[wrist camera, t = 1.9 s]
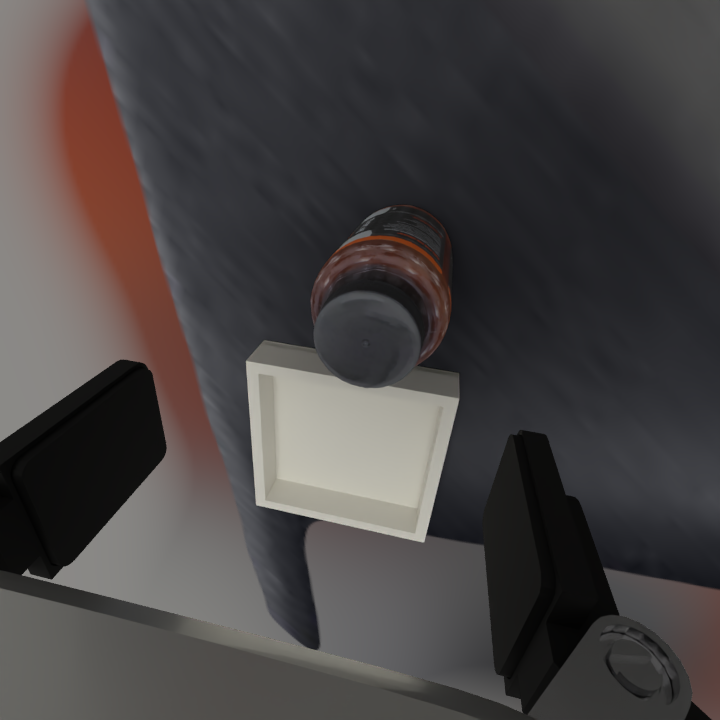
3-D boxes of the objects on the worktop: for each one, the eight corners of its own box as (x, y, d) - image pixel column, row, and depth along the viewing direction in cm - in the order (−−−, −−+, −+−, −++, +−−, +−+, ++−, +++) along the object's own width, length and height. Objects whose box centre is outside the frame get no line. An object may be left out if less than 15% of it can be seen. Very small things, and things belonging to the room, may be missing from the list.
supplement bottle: (350, 201, 24) (276, 256, 14) (457, 202, 22) (459, 261, 13) (353, 301, 26) (294, 402, 17) (448, 305, 25) (444, 417, 16)
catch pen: (264, 340, 29) (245, 360, 27) (459, 373, 27) (459, 398, 25) (270, 478, 36) (256, 505, 34) (426, 511, 34) (423, 542, 32)
